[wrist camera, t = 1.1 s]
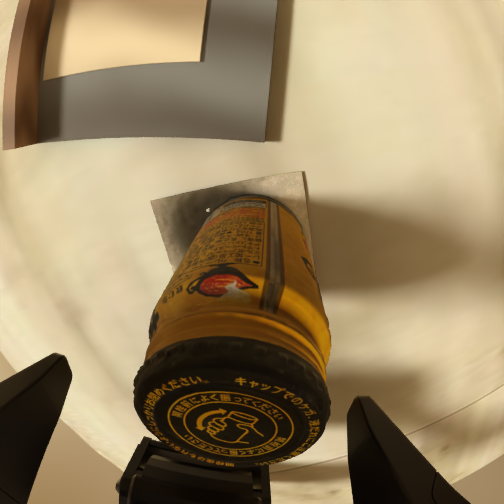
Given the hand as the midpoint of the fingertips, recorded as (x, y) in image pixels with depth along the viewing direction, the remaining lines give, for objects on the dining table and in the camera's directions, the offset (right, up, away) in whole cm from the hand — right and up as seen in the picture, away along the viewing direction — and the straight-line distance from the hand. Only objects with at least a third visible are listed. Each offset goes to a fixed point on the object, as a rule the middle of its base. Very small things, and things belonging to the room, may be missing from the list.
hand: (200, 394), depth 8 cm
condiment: (+1, +5, +10) cm, 11 cm away
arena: (-4, +17, +4) cm, 18 cm away
